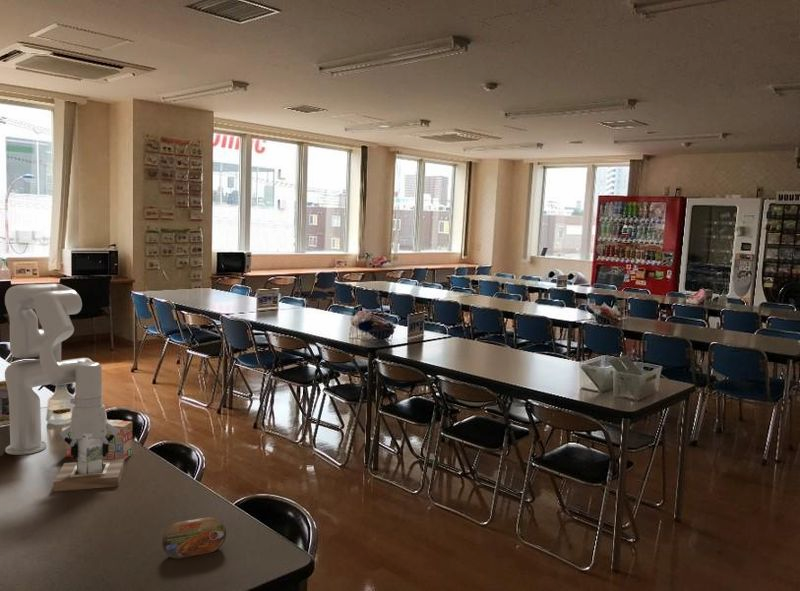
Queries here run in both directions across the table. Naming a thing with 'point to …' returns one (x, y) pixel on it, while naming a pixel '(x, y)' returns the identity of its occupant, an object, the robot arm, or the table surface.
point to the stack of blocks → (115, 441)
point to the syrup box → (89, 455)
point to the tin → (193, 537)
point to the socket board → (89, 476)
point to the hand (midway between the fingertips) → (90, 456)
